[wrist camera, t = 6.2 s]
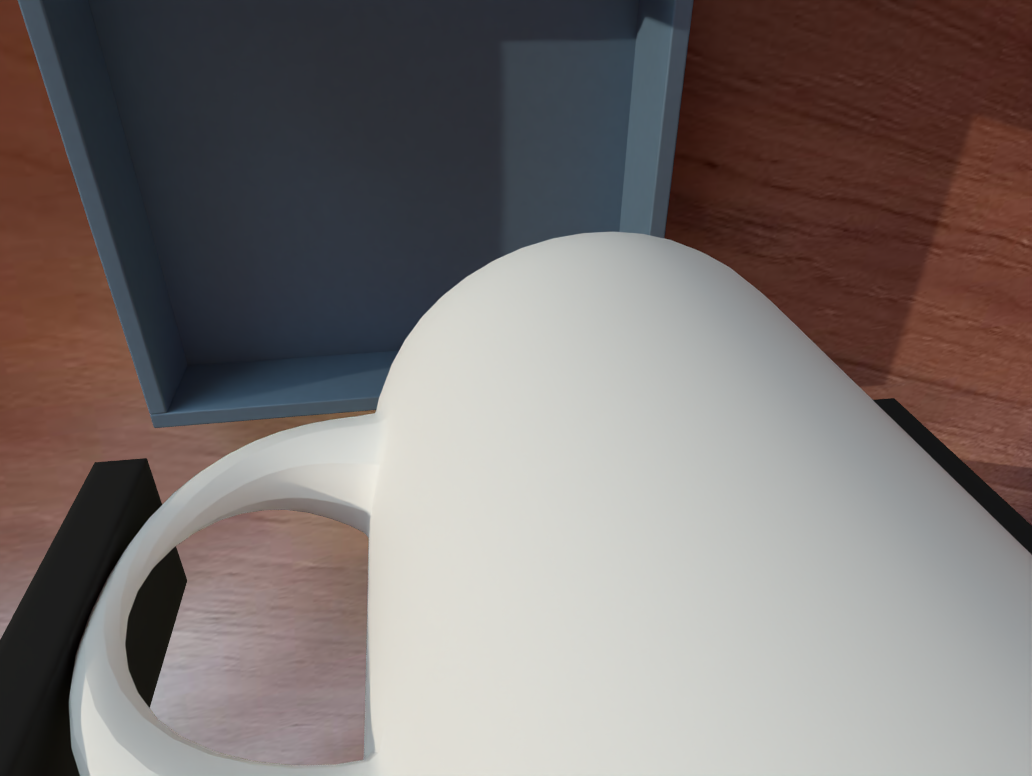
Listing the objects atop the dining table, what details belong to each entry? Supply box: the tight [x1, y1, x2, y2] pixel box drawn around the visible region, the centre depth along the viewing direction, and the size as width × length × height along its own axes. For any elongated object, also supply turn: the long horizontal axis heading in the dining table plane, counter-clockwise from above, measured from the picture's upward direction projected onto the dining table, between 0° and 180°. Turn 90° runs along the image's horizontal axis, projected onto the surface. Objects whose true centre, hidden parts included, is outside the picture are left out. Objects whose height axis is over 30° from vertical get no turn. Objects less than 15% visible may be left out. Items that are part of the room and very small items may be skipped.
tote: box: [18, 0, 693, 428], centre depth 28 cm, size 18×21×4 cm
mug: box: [69, 232, 1032, 776], centre depth 10 cm, size 9×12×11 cm
